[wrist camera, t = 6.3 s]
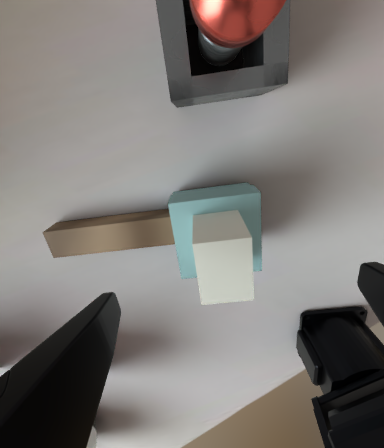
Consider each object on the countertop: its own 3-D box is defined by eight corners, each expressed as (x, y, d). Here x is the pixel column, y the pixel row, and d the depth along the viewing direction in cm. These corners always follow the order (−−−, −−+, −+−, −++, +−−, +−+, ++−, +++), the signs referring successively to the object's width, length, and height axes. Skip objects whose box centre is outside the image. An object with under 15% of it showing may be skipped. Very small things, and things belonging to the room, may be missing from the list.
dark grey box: (260, -7, 14) (292, -70, 9) (261, 94, 16) (287, 83, 12) (163, 10, 14) (149, -43, 10) (177, 107, 17) (170, 101, 12)
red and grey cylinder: (248, -4, 12) (298, -120, 6) (250, 69, 13) (293, 28, 7) (186, 7, 12) (180, -97, 6) (194, 78, 13) (195, 44, 8)
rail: (250, 198, 19) (256, 206, 17) (251, 224, 20) (256, 234, 18) (56, 222, 20) (42, 232, 18) (65, 246, 21) (53, 257, 19)
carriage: (247, 178, 18) (282, 215, 11) (249, 244, 21) (280, 310, 13) (172, 188, 19) (159, 229, 11) (183, 252, 21) (178, 320, 14)
